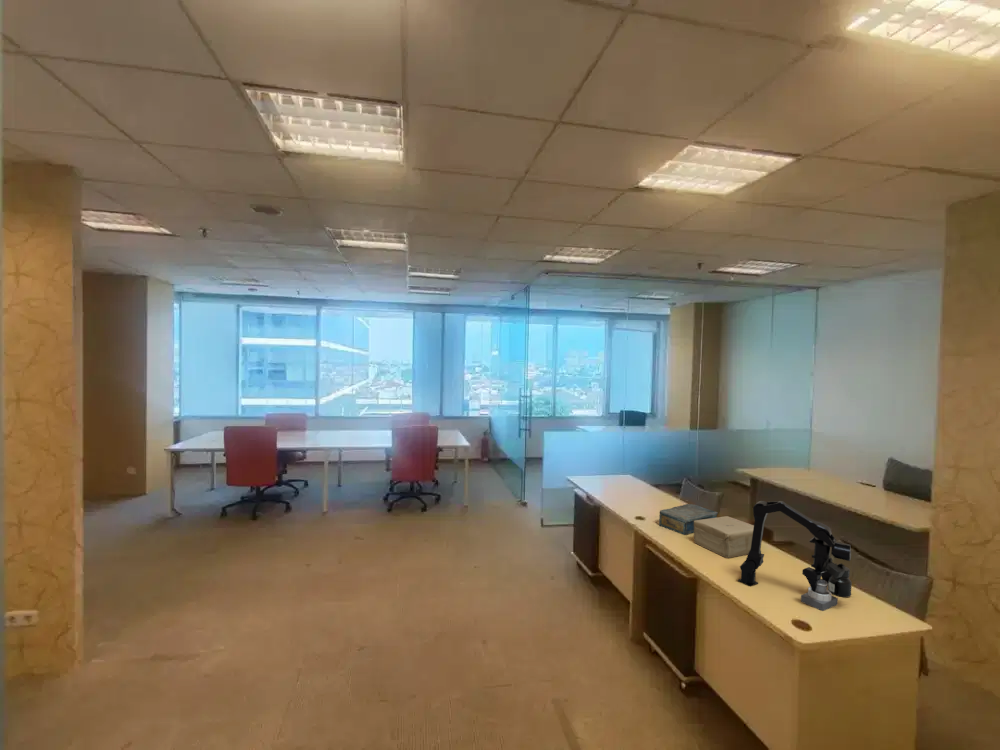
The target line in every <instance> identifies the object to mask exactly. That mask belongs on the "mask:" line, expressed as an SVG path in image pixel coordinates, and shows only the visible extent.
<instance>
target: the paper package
mask: <svg viewBox="0 0 1000 750" xmlns="http://www.w3.org/2000/svg"><path fill="white" fill-rule="evenodd" d="M753 529H754V524H750V523H748V522H745V521H743V520H739V519H736V518H734V517H731V516H728V515H726V516H720V517H719V516H717V518H710V519H702V520H695V521H694V533H693V538H694V539H693V540H694V541H693V542H694V543H695V544H696V545H699V546H700V547H703V548H705V549H707V550H710V551H711V552H713V553H715V554H717V555H720V556H722V557H723V558H727V559H731V558H735V557H741V556H746V555H747V556H748V554H749V551H750V549H751V543H752V536H753Z"/></svg>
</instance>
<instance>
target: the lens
mask: <svg viewBox="0 0 1000 750" xmlns="http://www.w3.org/2000/svg"><path fill="white" fill-rule="evenodd" d="M827 590H828V586H827V581H825V580H823V579H822V578H821V580H819V581H818V583H817V588H816V593H818V594H823V595H826V593H827ZM813 592H814V591H813Z"/></svg>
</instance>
